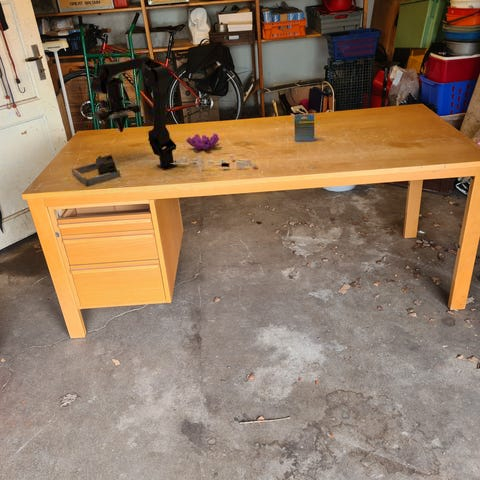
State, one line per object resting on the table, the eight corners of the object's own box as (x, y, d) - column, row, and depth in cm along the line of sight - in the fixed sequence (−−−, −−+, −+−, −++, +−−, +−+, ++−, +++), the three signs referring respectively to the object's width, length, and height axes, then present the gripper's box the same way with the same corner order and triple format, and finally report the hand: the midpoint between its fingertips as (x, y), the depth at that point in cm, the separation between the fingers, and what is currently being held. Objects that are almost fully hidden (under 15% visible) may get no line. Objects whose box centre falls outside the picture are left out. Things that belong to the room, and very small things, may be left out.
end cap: (99, 172, 193) (93, 157, 189) (115, 167, 194) (110, 152, 191) (101, 180, 184) (95, 164, 181) (118, 175, 186) (113, 159, 182)
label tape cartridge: (314, 138, 212) (314, 111, 206) (314, 141, 209) (314, 114, 203) (294, 139, 213) (294, 112, 207) (294, 142, 210) (294, 115, 204)
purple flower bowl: (219, 156, 210) (216, 144, 201) (187, 157, 211) (182, 145, 203) (221, 135, 214) (218, 123, 205) (189, 136, 216) (185, 124, 207)
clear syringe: (169, 171, 185) (175, 165, 197) (256, 173, 184) (257, 166, 195) (168, 155, 183) (174, 150, 194) (256, 157, 181) (257, 151, 193)
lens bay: (120, 176, 186) (119, 170, 185) (87, 186, 179) (85, 179, 178) (104, 166, 198) (103, 160, 197) (72, 175, 191) (71, 168, 190)
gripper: (126, 88, 201) (132, 123, 208) (85, 96, 191) (93, 132, 199) (138, 91, 193) (144, 128, 201) (96, 100, 183) (103, 138, 191)
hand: (121, 131), depth 198 cm, fingers closed
